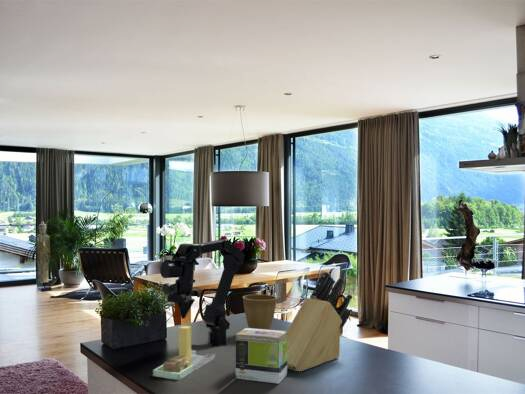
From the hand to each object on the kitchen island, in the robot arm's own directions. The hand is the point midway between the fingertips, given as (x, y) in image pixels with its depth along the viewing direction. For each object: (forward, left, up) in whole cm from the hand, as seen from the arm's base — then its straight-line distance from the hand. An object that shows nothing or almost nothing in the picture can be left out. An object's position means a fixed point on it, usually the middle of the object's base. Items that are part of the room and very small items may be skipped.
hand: (183, 318), depth 190 cm
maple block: (+7, +22, -12) cm, 26 cm away
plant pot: (-38, -15, -13) cm, 43 cm away
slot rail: (+1, +15, -13) cm, 20 cm away
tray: (+9, +24, -13) cm, 29 cm away
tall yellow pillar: (+5, +19, -12) cm, 23 cm away
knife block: (-42, +26, -13) cm, 51 cm away
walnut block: (+10, +25, -12) cm, 30 cm away
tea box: (-17, +35, -13) cm, 41 cm away
